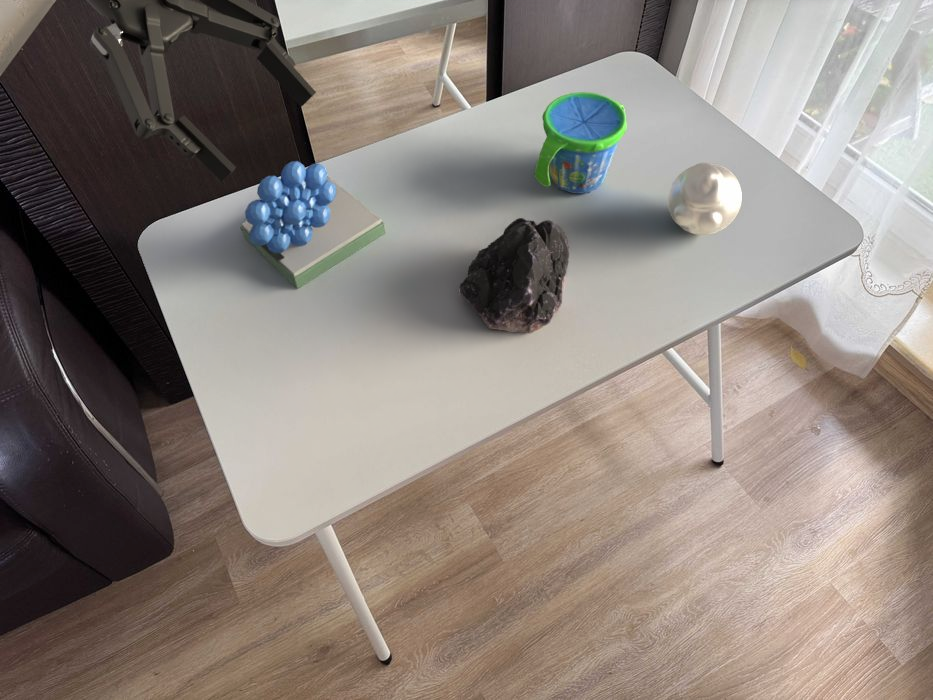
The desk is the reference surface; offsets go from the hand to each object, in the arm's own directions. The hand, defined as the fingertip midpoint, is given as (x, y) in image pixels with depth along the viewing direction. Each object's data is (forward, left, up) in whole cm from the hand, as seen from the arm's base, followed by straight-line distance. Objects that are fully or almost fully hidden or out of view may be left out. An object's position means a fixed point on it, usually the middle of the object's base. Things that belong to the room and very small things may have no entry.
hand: (271, 135), depth 74 cm
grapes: (+1, +3, -18) cm, 19 cm away
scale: (+4, +5, -21) cm, 22 cm away
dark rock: (+16, -20, -21) cm, 33 cm away
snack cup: (+37, -11, -21) cm, 44 cm away
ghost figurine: (+41, -28, -21) cm, 54 cm away
